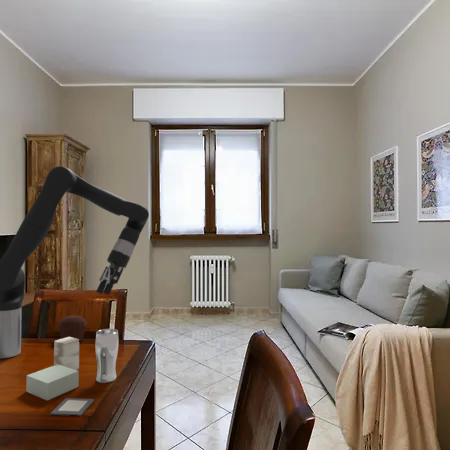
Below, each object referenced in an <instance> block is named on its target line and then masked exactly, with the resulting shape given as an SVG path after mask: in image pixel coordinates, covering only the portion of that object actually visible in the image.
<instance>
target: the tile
mask: <svg viewBox="0 0 450 450" xmlns="http://www.w3.org/2000/svg"><path fill="white" fill-rule="evenodd" d="M94 402H95V398H74V397H73V398H72V397H70V398H69V397H66V398H65V399H64V400H62V402H60V403H59V404H58V405H57V406H56V407H55V408H54V409H53V410H52V411H51V412H50V413H49V414H50V416H52V414H53V416H70V415H78V416H77V417H81V416H83V414H85V412H86V411H87V410H88V409H89V408H90V406H91V405H92V404H93V403H94Z"/></svg>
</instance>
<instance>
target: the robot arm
mask: <svg viewBox="0 0 450 450" xmlns="http://www.w3.org/2000/svg"><path fill="white" fill-rule="evenodd" d="M66 193H68V194H72V195H75V196H79V197H81V198H83V199H85V200H87V201H89V202H91V203H92V204H94V205H95V206H97V207H99V208H101V209H103V210H105V211H107V212H109V213H111V214H113V215H116V216H118V217H120V216H123V217H125V218H128V219H127V221H126V224H125V226H124V227H123V229H122V230H121V232H120V234H119V236H118V238H117V240H116V242H115V243H114V244H113V247H112V249H111V251H110V253H109V255H108V257H107V259H106V262H108V263H109V264H110V265H109V266H105V268H104V270H103V272H102V274H101V276H100V278H99V285H98V286H97V289H96V290H95V291H96V293H98V294H105V295H107V296H108V295H110V294H111V292H112V289H113V287H114V286H115V285H116V284H118V282H119V280H120V278H121V276H122V274H123V271H124V269H126V268H127V266H128V264H129V262H130V260H131V257H132V255H133V253H134V251H135V247H136V244H137V242H138V241H139V239H140V238H139V237H140V235H141V234H142V231H143V229H144V228H145V226H146V224H147V222H148V220H149V215H150V213H149V209H147V208H146V207H145V206H144V205H142V204H140V203H137V202H134V201H131V200H127V199H124V198H123V197H120V196H119V195H116V194H114V193H112V192H110V191H108V190H106V189H104V188H100V187H98V186H96V185H94V184H92V183H90V182H88V181H86V180H85V179H84V178H82V177H80V176H79V175H78V174H76V173H75V172H74V171H73V170H71V169H70V168H68V167H66V166H60V165H58V166H55V167H53V168H52V169H51V170H50V171H48V173H47V175H46V178H45V180H44V182H43V185H42V188H41V190H40V192H39V194H38V196H37V197H36V199H35V201H34V203H33V204H32V205H31V207H30V209H29V210H28V212H27V214H26V216H25V217H24V219H23V220H22V222H21V224H20V226H19V227H18V229H17V231H16V233H15V235H14V236H13V239H12V240H11V242H10V244H9V246H8V247H7V249H6V251H5V253H4V254H3V256H2V257H1V259H0V359H8V358H9V359H10V358H12V357H15V356H18V355H20V354H21V353H22V352H21V351H22V310H23V309H22V307H23V300H24V297H25V289H26V288H25V286H26V279H25V278H26V274H25V272H24V270H23V269H22V267H23V265H24V263H25V262H26V261H27V259H28V258H30V256H31V254H33V253H34V252H35V250H36V249H37V248H38V247H39V246H40V245H41V244H42V242H43V241H44V239H45V238H46V236H47V235H48V234H49V233H48V232H49V231H50V229H51V227H52V226H53V225H52V224H53V222H54V217H55V214H56V211H57V209H58V208H57V207H58V205H59V204H60V202H61V200H62V198H63V197H64V195H65V194H66Z"/></svg>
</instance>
